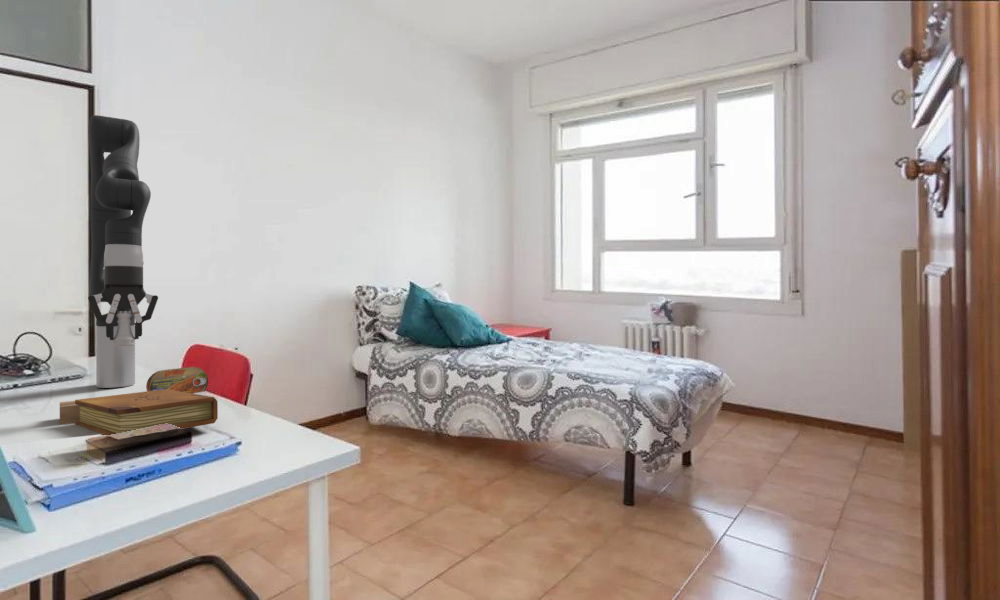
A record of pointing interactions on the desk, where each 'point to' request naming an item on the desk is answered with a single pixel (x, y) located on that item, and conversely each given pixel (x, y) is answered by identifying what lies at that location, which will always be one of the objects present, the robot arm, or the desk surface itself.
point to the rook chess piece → (124, 330)
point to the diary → (146, 411)
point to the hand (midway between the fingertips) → (124, 339)
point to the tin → (179, 380)
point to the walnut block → (69, 412)
